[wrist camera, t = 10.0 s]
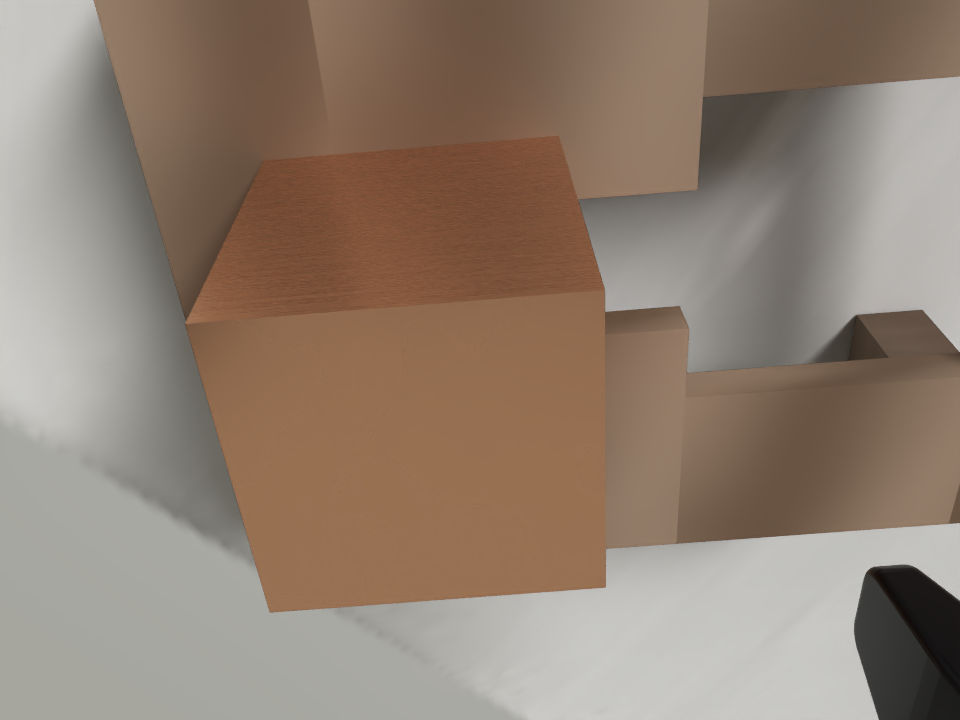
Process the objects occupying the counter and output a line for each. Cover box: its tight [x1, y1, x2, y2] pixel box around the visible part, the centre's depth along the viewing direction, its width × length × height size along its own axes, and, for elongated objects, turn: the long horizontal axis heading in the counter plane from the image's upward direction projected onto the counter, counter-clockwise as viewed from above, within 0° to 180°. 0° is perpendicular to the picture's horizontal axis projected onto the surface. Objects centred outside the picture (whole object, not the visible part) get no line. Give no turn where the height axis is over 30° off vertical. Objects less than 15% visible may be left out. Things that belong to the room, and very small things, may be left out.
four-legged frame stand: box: [94, 0, 960, 549], centre depth 18 cm, size 16×13×6 cm
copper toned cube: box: [185, 136, 606, 612], centre depth 15 cm, size 5×5×8 cm
